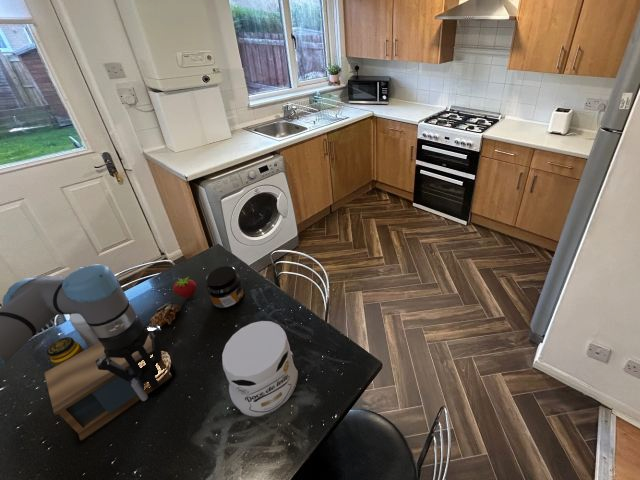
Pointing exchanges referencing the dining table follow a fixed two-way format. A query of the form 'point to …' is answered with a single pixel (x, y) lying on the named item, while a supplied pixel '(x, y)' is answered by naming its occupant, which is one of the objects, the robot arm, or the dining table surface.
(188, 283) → the strawberry
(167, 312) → the pastry
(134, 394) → the glass door
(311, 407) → the dining table surface
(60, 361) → the condiment
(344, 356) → the dining table surface
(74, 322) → the supplement tub
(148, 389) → the cabinet
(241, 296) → the supplement container
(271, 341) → the doce de leite tub
